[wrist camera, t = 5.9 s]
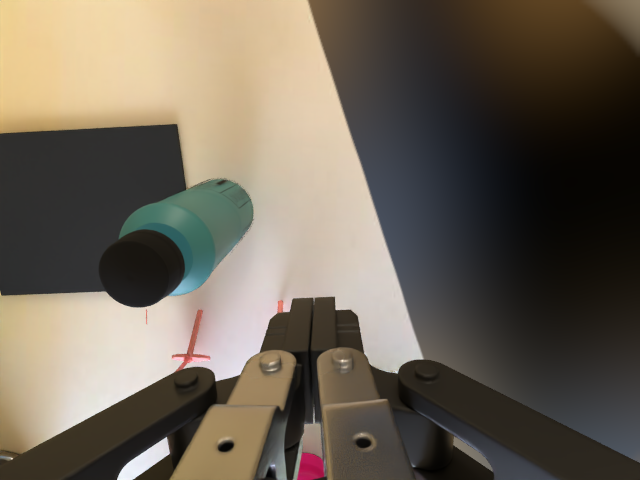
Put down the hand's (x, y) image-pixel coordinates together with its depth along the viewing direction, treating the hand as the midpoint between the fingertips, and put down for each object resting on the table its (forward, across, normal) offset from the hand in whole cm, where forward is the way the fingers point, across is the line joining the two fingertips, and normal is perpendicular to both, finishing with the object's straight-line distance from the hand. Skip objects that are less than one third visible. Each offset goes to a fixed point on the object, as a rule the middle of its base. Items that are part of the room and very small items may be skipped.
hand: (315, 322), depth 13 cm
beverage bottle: (+26, +10, 0) cm, 28 cm away
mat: (+26, +25, 0) cm, 36 cm away
